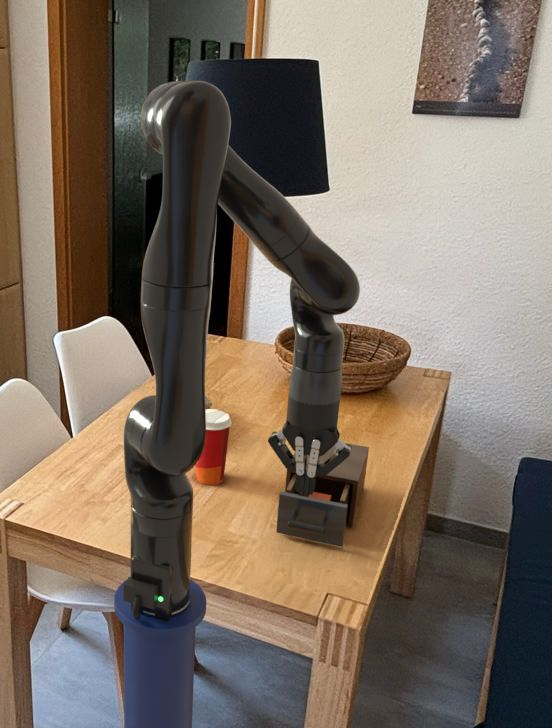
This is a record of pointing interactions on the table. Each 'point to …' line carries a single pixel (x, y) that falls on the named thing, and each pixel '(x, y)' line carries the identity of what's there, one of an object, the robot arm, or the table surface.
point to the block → (321, 496)
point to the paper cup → (214, 448)
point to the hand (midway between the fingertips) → (304, 494)
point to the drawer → (315, 512)
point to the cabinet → (345, 475)
